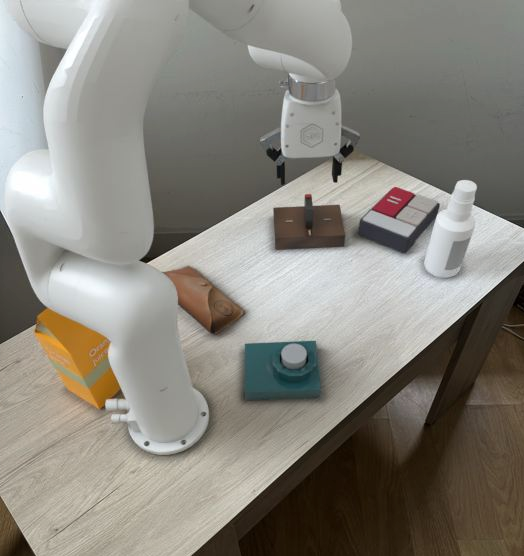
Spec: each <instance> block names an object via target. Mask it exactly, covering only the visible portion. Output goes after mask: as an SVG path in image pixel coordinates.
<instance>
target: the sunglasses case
mask: <svg viewBox="0 0 524 556" xmlns="http://www.w3.org/2000/svg"><path fill="white" fill-rule="evenodd" d="M162 272H163V273H164V274H165V275H166V276H167V277H169V279H170V280H171V281H172V282H173V284H174V285H175V287H176V290H177V295H178V307H180V308H181V309H182V310H184V311H185V312H186V313H187V314H188V315H189V316H190V317H192V318H193V320H195V321H196V322H197V323H198V324H199V325H200V326H201V327H202V328H204V329H205V330H206V331H207V332H209V333H210V334H213V335H214V336H215V335H216V336H217V335H218V334H220V333H221V332H223V331H224V330H226V329H227V328H229V327H230V326H231V325H232V324H234V323H235V322H237V321H238V320H239V319H240V318H242V317H243V316H244V314H245V311H244V309H242V307H240V306H239V305H238V304H237V303H235V301H234V300H233V299H231V298H229V297H228V296H227V295H226V294H225V293H223V292H222V291H221V290H219V289H218V288H217V287H216V286H214V284H212V283H211V282H209V281H208V279H206V277H204V276H202V274H201V273H199V272H198V271H197V270H196V269H195V268H194V267H192V266H191V265H187V266H185V267H182V268H177V269H172V270H167V271H162Z"/></svg>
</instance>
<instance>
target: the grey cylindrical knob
mask: <svg viewBox="0 0 524 556" xmlns="http://www.w3.org/2000/svg"><path fill="white" fill-rule="evenodd" d="M281 359H282V364H283V365H284V366H285V367H286V368H288V369H291V370H297V369H300V368H302V367H303V366H304V365H305V364H306V360H307V352H306V349H305V348H304V347H303V346H301V345H299V344H289V345H287V346H285V347H284V348H283V350H282V352H281Z"/></svg>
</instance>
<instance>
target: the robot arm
mask: <svg viewBox="0 0 524 556" xmlns="http://www.w3.org/2000/svg"><path fill="white" fill-rule="evenodd" d="M3 1H4V4H5V6H6V9H7V12H8V13H9V15H10V16H11V18H12V20H13V21H14V22H15V23H16V24H17V26H18V27H19V28H20V29H21V30H22V31H23V32H24V33H25V34H27V35H28V36H29V37H30V38H32V39H34V40H35V41H38V42H40V43H41V44H44V45H48V46H51V47H54V48H59V49H63V50H66V51H65V53H64V54H63V57H62V59H61V60H60V62H59V64H58V66H57V67H56V69H55V71H54V73H53V75H52V77H51V80H50V81H49V85H48V87H47V89H46V92H45V97H44V101H43V109H42V110H43V111H42V114H43V115H42V119H43V126H44V133H45V137H46V142H47V147H48V148H40V149H35V150H31V151H29V152H27V153H25V154H23V155H22V156H20V157H19V158H18V159H17V160H16V161H15V162H14V163H13V165H12V167H11V168H10V170H9V172H8V175H7V177H6V180H5V184H4V185H5V186H4V192H3V193H4V194H3V195H4V196H3V201H4V202H3V203H4V212H5V216H6V219H7V223H8V225H9V229H10V231H11V235H12V237H13V240H14V243H15V245H16V248H17V251H18V253H19V256H20V259H21V263H22V264H23V267H24V270H25V272H26V276H27V278H28V280H29V283H30V286H31V288H32V290H33V293H34V294H35V296H36V297H37V298H38V300H39V301H40V302H41V303H42V305H43V306H45V307H46V308H49V309H51V310H52V311H54V312H56V313H58V314H60V315H62V316H64V317H67V318H69V319H71V320H73V321H75V322H78V323H80V324H82V325H84V326H85V327H87V328H89V329H91V330H94V331H96V332H98V333H100V334H101V335H103V336H105V337H106V338H107V339H109V340H110V341H111V343H110V346H109V349H108V359H109V363H110V365H111V368H112V370H113V372H114V375H115V376H116V378H117V381H118V383H119V385H120V387H121V389H120V390H121V392H122V394H123V396H124V398H111V399H107V400H106V403H105V405H104V406H105V410H106V412H119V411H126V413H123V414H122V413H112V414H111V416H110V422H111V424H121V423H122V424H123V423H125V424H127V429H128V433H129V434H130V437H131V439H132V440H133V442H134V443H135V445H136V446H138V447H139V449H142V450H144V452H147V453H150V454H152V455H157V456H170V455H175V454H179V453H181V452H184V451H186V450H188V449H189V448H191V447H193V446H194V445H195V444H196V443H197V442H199V440H200V439H201V438H202V437H203V435H204V434H205V432H206V430H207V429H208V425H209V421H210V409H209V406H208V402H207V400H206V398H205V396H204V395H203V394H202V393H201V392H200V391H199V390H198V389H196V388H195V387H194V386H193V383H192V379H191V375H190V372H189V368H188V364H187V360H186V356H185V353H184V349H183V345H182V340H181V336H180V331H179V324H178V323H179V322H178V321H179V320H178V319H179V317H178V315H179V305H178V295H177V290H176V287H175V285H174V284H173V282H172V281H171V280H170V279H169V277H167V276H166V275H165V274H164V273H163V272H164V271H162V270H159V269H158V268H156V267H155V266H152V265H150V264H148V263H146V262H143V261H141V259H143V258H144V257H145V256H147V254H148V253H149V251H150V249H151V247H152V244H153V241H154V234H155V222H154V221H155V220H154V212H153V202H152V194H151V187H150V179H149V173H148V172H149V171H148V166H147V158H146V150H145V149H146V148H145V138H144V137H145V136H144V120H145V119H144V117H145V112H146V108H147V105H148V102H149V100H150V97H151V95H152V92H153V90H154V88H155V86H156V84H157V83H158V80H159V78H160V76H161V75H162V73H163V72H164V69H165V68H166V66H167V64H168V63H169V61H170V60H171V58H172V57H173V56H174V53H175V52H176V50H177V49H178V47H179V45H180V44H181V42H182V39H183V37H184V34H185V31H186V28H187V23H188V18H189V11H190V10H191V11H192V12H193V13H195V14H196V15H197V16H199V17H200V18H201V19H203V20H204V21H206V22H207V23H208V24H209V25H211V26H212V27H214V28H215V29H216V30H218V31H219V32H220V33H221V34H223V35H224V36H226V37H227V38H230V39H232V40H234V41H236V42H239V43H241V44H244V45H247V51H248V54H249V56H250V58H251V59H252V60H253V62H254V63H255V64H256V65H258V66H260V67H261V68H264V69H268V70H271V71H276V72H279V73H280V72H281V73H286V77H285V76H284V78H283V77H282V78H279V89H283V88H284V89H286V91H285V92H284V96H283V101H282V109H281V118H280V126H279V127H277V128H275V129H273V130H271V131H270V132H267V133H265V134H264V135H262V136H260V138H259V141H260V142H259V143H260V145H261V147H262V149H263V151H264V152H265V154H266V156H267V157H268V158H269V159H271V160H272V161H273V162H274V164H275V165H276V179H280V186H284V185H285V184H286V163H285V161H286V160H287V159H310V158H313V159H314V158H329V157H332V165H331V177H332V183H335V184H337V183H338V179H339V177H341V176H342V170H343V163H344V162H345V160H346V158H347V157H349V156H350V155H351V154H352V153H353V152H354V150H355V148H356V147H357V145H358V144H359V142H360V141H361V135H360V132H358V131H356V130H354V129H352V128H350V127H348V126H345V125H344V124H342V99H341V94H340V92H339V90H338V89H337V78H338V77H339V76H341V75H342V73H343V72H344V71H345V70H346V68H347V66H348V64H349V62H350V58H351V55H352V51H353V50H352V48H353V36H352V31H351V30H352V29H351V27H350V24H349V21H348V19H347V17H346V15H345V14H344V12H343V11H342V2H341V1H340V0H3ZM342 137H343V138H345V139H348V141H347V142H346V143H344V145H343V146H342V147H341V145H342V144H341V141H342ZM279 139H280V146H279V147H278V149H276V148H275V147H274V146H273V145H272V143H274V142H276V141H278V140H279Z"/></svg>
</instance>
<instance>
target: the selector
mask: <svg viewBox="0 0 524 556" xmlns="http://www.w3.org/2000/svg"><path fill="white" fill-rule="evenodd" d="M272 211H273V235H274V237H273V238H274V250H276V251H277V250H301V249H302V250H303V249H323V248H344V247H345V243H346V230H345V226H344V220H343V214H342V210H341V205H340V204H319V205H313V227H312V228H305V217H304V205H302V206H301V205H300V206H280V207H273V208H272Z"/></svg>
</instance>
